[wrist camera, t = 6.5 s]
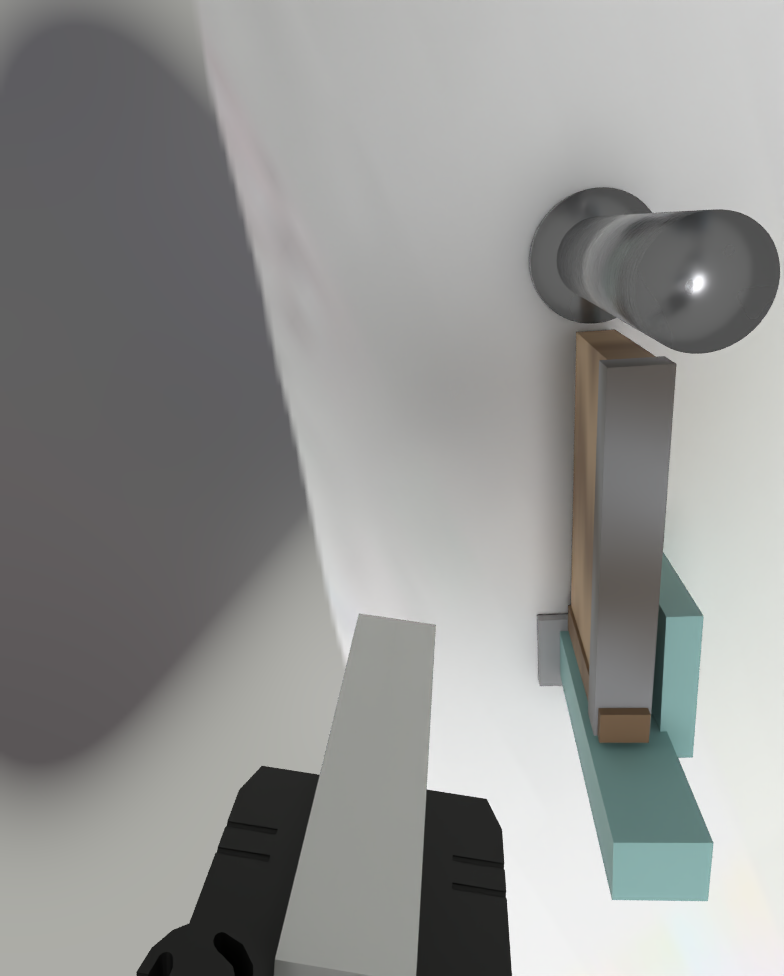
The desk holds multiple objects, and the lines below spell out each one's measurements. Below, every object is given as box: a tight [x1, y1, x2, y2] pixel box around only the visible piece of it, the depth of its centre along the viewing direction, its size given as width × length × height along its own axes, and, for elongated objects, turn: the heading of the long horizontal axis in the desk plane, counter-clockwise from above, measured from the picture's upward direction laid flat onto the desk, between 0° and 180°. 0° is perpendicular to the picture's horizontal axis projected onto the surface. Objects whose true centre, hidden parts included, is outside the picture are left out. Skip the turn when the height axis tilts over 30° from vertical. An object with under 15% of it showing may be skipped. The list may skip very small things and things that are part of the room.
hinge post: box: [529, 188, 780, 354], centre depth 17 cm, size 4×4×10 cm
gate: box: [568, 330, 676, 743], centre depth 21 cm, size 11×2×6 cm, turn 4°
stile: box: [537, 553, 713, 901], centre depth 21 cm, size 6×4×10 cm, turn 5°
